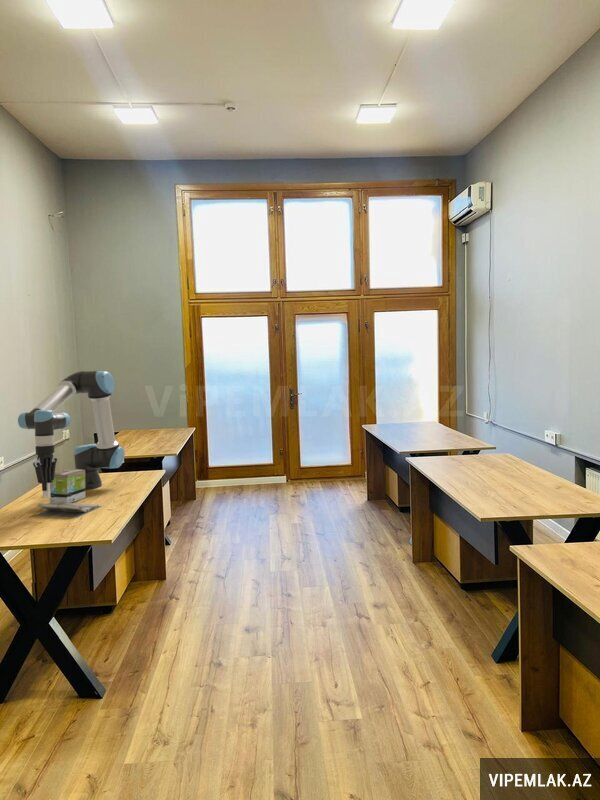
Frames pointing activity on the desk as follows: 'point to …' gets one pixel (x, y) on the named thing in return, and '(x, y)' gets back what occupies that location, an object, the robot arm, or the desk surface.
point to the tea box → (67, 486)
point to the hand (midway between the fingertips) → (46, 497)
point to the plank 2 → (72, 508)
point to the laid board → (85, 506)
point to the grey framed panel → (64, 513)
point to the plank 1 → (50, 507)
